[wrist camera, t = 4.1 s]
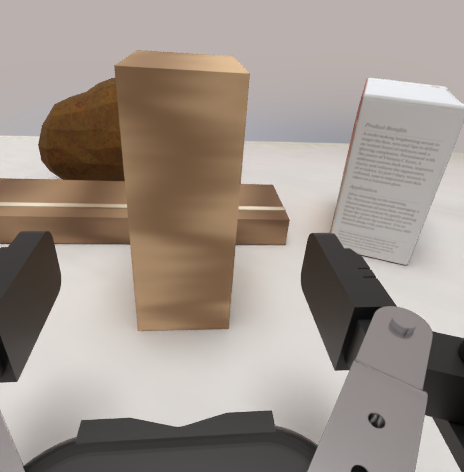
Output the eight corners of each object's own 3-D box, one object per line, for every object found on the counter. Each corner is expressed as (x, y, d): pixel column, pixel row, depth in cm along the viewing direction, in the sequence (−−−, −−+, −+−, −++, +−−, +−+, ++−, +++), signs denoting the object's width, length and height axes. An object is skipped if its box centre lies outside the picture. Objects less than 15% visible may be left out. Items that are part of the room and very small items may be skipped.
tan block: (215, 217, 29) (223, 46, 23) (228, 328, 19) (249, 73, 13) (157, 216, 28) (149, 41, 22) (138, 330, 18) (114, 65, 12)
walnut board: (269, 206, 31) (273, 183, 30) (285, 244, 26) (289, 218, 25) (-63, 201, 28) (-73, 175, 27) (-119, 242, 23) (-134, 212, 22)
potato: (61, 164, 37) (43, 68, 32) (181, 161, 39) (180, 73, 35) (46, 200, 30) (21, 85, 25) (193, 194, 32) (194, 89, 28)
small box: (336, 204, 33) (366, 76, 27) (403, 217, 31) (448, 85, 26) (324, 248, 26) (361, 91, 21) (408, 268, 25) (471, 104, 19)
